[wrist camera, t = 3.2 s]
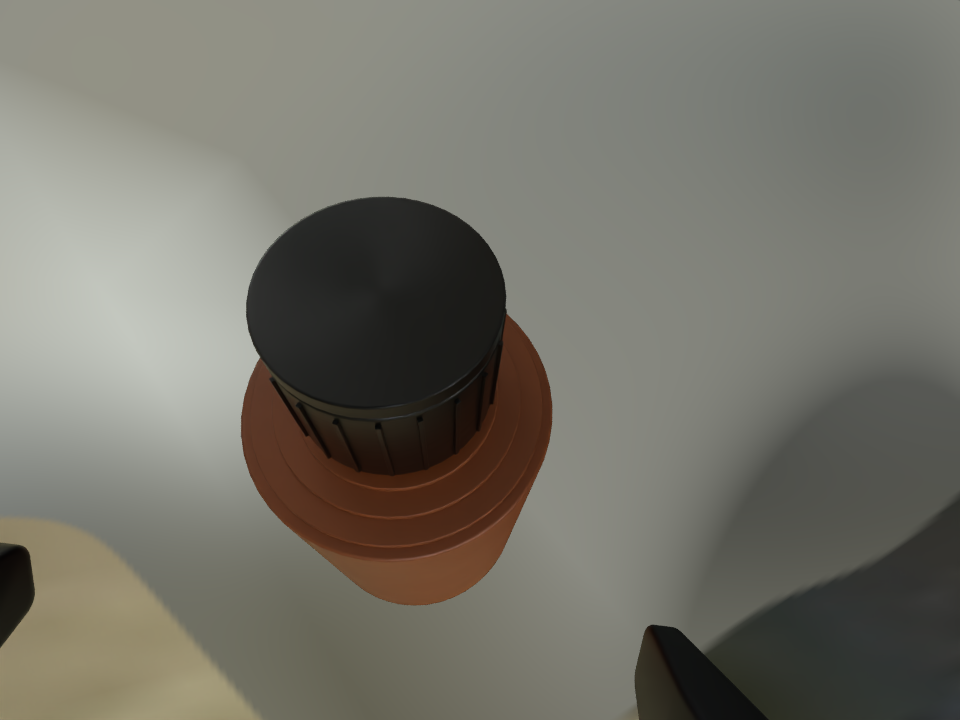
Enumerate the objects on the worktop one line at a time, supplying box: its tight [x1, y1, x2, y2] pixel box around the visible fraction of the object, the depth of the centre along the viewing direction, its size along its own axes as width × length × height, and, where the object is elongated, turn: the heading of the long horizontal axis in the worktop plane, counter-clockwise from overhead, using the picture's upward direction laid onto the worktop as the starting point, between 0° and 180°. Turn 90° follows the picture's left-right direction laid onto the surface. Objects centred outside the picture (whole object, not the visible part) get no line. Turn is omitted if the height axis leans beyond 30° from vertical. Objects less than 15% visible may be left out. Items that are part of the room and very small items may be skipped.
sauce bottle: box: [241, 314, 552, 605], centre depth 14 cm, size 7×7×12 cm
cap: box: [246, 197, 507, 476], centre depth 10 cm, size 4×4×3 cm
